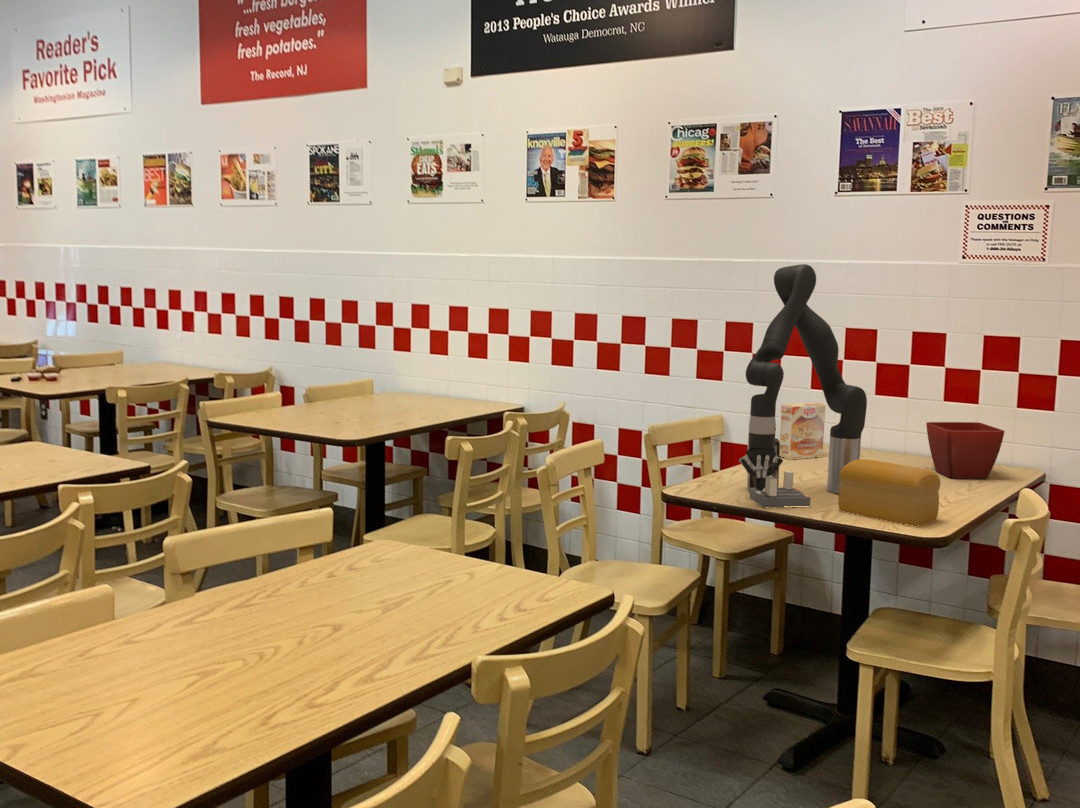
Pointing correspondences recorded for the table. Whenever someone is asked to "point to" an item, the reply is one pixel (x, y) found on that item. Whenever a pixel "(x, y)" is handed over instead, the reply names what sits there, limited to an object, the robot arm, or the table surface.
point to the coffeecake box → (802, 430)
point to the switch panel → (780, 498)
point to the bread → (889, 492)
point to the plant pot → (964, 448)
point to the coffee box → (776, 474)
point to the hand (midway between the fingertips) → (759, 489)
